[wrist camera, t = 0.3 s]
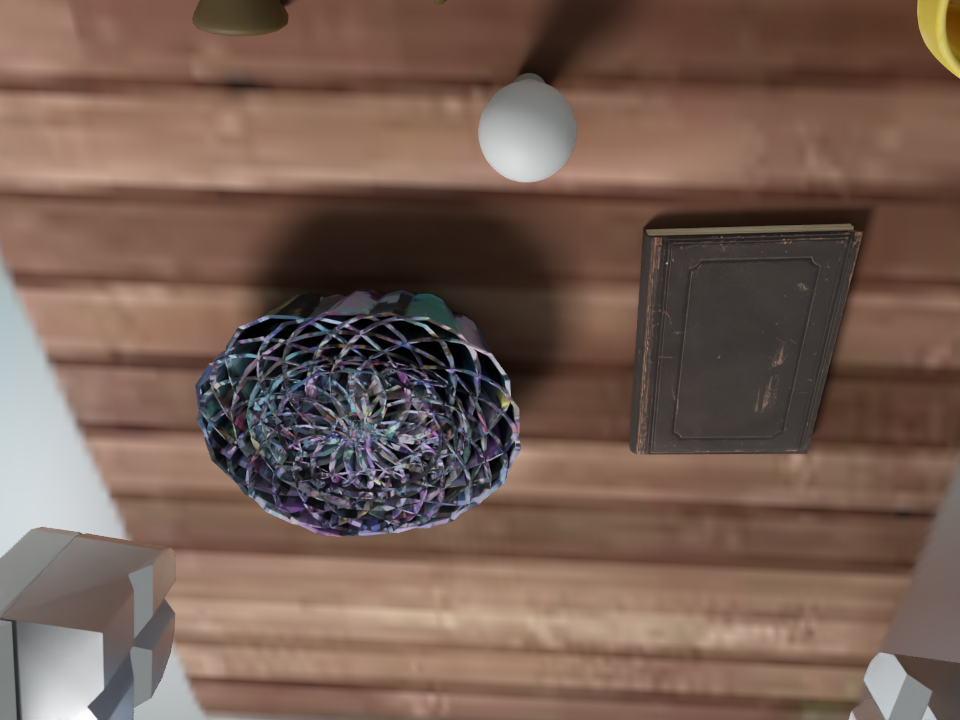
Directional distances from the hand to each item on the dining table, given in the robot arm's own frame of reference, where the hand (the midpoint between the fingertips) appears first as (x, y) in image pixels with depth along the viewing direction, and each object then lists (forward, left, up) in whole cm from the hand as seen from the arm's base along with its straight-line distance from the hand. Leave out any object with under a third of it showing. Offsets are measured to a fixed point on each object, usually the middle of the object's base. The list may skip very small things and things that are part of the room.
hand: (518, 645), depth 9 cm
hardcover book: (+12, +36, -52) cm, 65 cm away
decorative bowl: (+37, +17, -52) cm, 66 cm away
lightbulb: (+9, +8, -52) cm, 53 cm away
